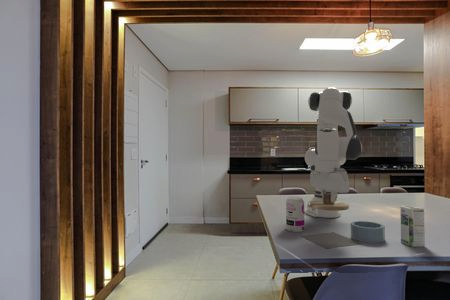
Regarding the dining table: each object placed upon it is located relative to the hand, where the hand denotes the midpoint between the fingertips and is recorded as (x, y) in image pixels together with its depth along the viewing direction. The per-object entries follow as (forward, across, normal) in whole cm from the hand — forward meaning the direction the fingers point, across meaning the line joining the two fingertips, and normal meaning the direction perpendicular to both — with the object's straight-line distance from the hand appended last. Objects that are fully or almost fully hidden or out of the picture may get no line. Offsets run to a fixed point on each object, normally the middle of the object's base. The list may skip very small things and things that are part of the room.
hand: (328, 201), depth 111 cm
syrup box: (+16, -14, -27) cm, 35 cm away
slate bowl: (+16, -3, -16) cm, 23 cm away
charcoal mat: (+16, 0, 0) cm, 16 cm away
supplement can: (+16, +18, +5) cm, 25 cm away
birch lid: (+2, 0, 0) cm, 2 cm away
